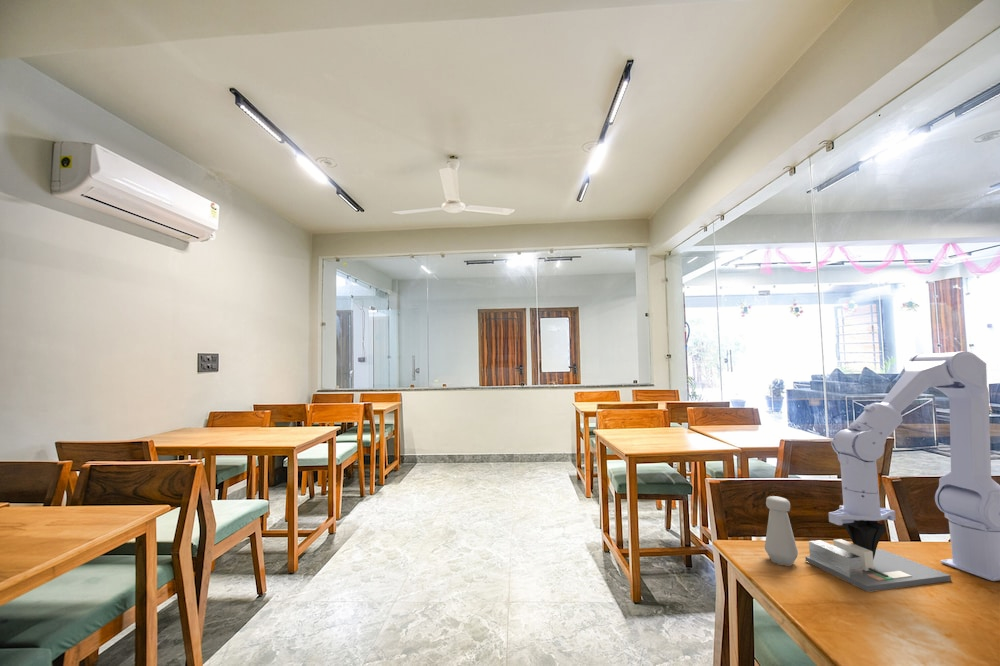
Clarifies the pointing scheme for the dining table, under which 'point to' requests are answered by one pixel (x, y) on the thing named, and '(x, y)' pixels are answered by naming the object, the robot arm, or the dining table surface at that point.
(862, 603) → the dining table surface
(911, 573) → the base
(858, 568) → the grey block
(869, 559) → the white rectangular bar
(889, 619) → the dining table surface
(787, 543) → the salt shaker
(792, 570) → the dining table surface
